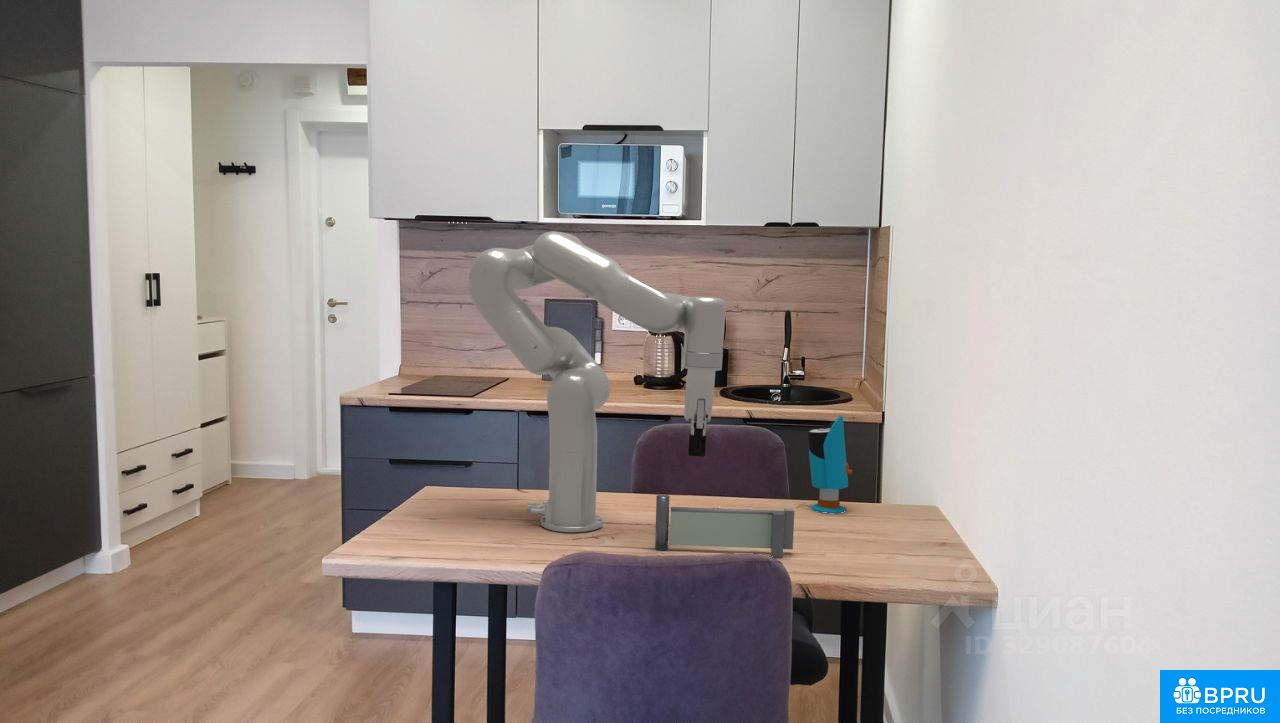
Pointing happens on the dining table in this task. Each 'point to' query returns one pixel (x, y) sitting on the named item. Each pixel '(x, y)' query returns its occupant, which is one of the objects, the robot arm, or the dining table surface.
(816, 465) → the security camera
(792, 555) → the dining table surface
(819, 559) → the dining table surface
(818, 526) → the dining table surface
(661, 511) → the gate frame
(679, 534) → the gate
